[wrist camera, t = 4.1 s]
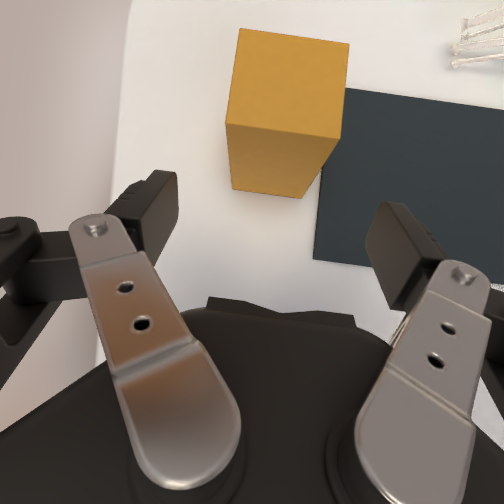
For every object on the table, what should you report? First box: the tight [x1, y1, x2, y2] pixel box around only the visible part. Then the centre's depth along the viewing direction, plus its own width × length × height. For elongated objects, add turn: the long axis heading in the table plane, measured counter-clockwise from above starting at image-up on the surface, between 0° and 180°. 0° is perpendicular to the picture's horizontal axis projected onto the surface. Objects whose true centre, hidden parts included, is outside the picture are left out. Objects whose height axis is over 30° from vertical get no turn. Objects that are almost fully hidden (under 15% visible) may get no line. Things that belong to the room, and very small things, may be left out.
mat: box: [313, 88, 504, 284], centre depth 23 cm, size 16×14×1 cm
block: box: [225, 28, 349, 199], centre depth 18 cm, size 5×5×9 cm
